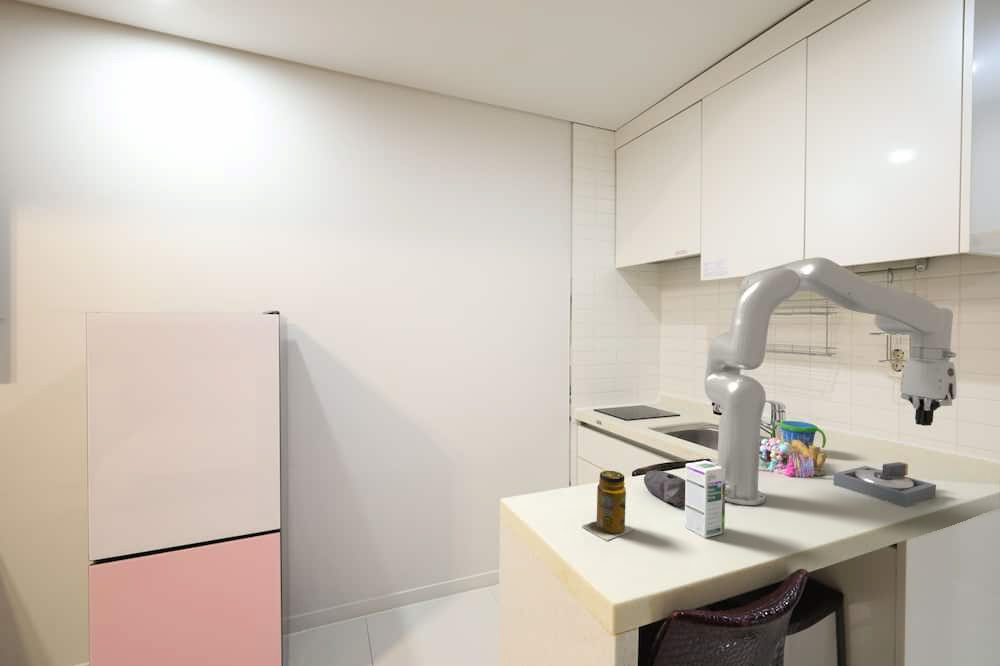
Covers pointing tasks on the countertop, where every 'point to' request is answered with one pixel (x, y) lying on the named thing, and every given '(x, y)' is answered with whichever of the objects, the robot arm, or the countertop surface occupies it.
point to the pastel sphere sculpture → (790, 458)
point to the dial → (888, 476)
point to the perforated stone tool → (666, 486)
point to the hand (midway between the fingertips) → (923, 424)
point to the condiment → (610, 507)
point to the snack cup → (799, 432)
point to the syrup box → (705, 498)
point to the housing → (885, 488)
